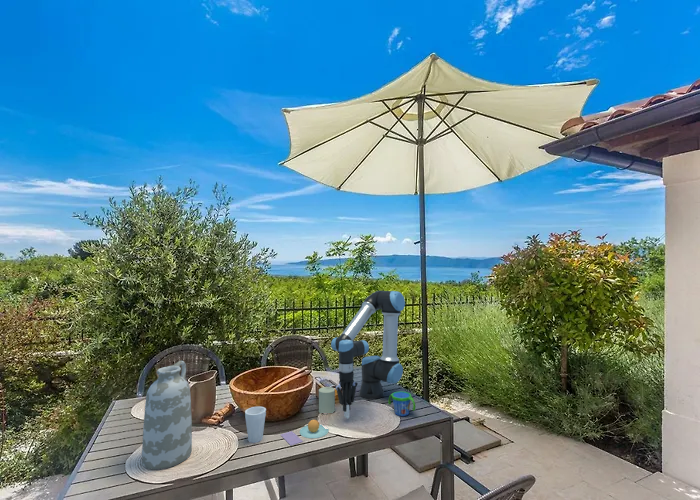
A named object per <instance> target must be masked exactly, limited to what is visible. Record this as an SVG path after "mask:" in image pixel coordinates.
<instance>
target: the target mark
mask: <svg viewBox="0 0 700 500" xmlns="http://www.w3.org/2000/svg"><path fill="white" fill-rule="evenodd" d="M322 425H323V424H320V423H319V429H318V430H317V431H316V432H310V431H309V429H308V424H307V425H305V426H303V427H302V428H300V430H299V434H300V436H302V437H304V438H306V439H319V438H322V437H325V436H327V435H328V433H329V428H328V429H325V428H324V427H323V426H322Z"/></svg>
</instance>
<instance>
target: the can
mask: <svg viewBox="0 0 700 500" xmlns="http://www.w3.org/2000/svg"><path fill="white" fill-rule="evenodd" d="M335 394H336V389H335V387H331V386H324V387H323V386H322V387H320V388H319V389H318V413H319V414H321V413H332V414H333V412H334V411H335V412H336V395H335ZM335 412H334V413H335Z"/></svg>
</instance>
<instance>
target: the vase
mask: <svg viewBox="0 0 700 500" xmlns="http://www.w3.org/2000/svg"><path fill="white" fill-rule="evenodd" d="M180 372H181V373H180ZM156 374H157V376H158V378H157V379H156V380H155V381H153V383H151V385H150V386H149V388H148V389H147V392H146V395H145V396H146V397H145V402H144V405H145V406H144V417H143V427H142V428H143V429H142V442H141V447H142V449H141V464H142V467H144V468H146V469H147V470H153V471H155V470H162V469H163V470H164V469H168V468H172V467H175V466H177V465H179V464H181V463H183V462H185V461H186V460H188V458H189V457H190V456H191V454H192V452H193V448H192V447H193V444H192V443H193V440H192V439H193V434H192V433H193V429H192V427H193V425H192V422H193V421H192V401H191V400H192V397H191V389H190V388H191V387H190V385H189V383H188V381H187V379H186V376H187V375H186V374H187V364H186V362H185V361H183V360H179V361H177V362H175V364H172V365H168V366H164V367H160V368H158V369H157V370H156Z"/></svg>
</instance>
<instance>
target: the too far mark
mask: <svg viewBox="0 0 700 500" xmlns="http://www.w3.org/2000/svg"><path fill="white" fill-rule="evenodd" d="M280 436H281V437H282V438H283V439H284V440H285V442H287V444H288V445H289V446H294V445H297V444H300V443H303V442H304V441H303V439H301V438H300V437H299V436H298V435H297V434H296V433H294V432H293V430H291V431H287V432H284V433H281V434H280Z"/></svg>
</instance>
